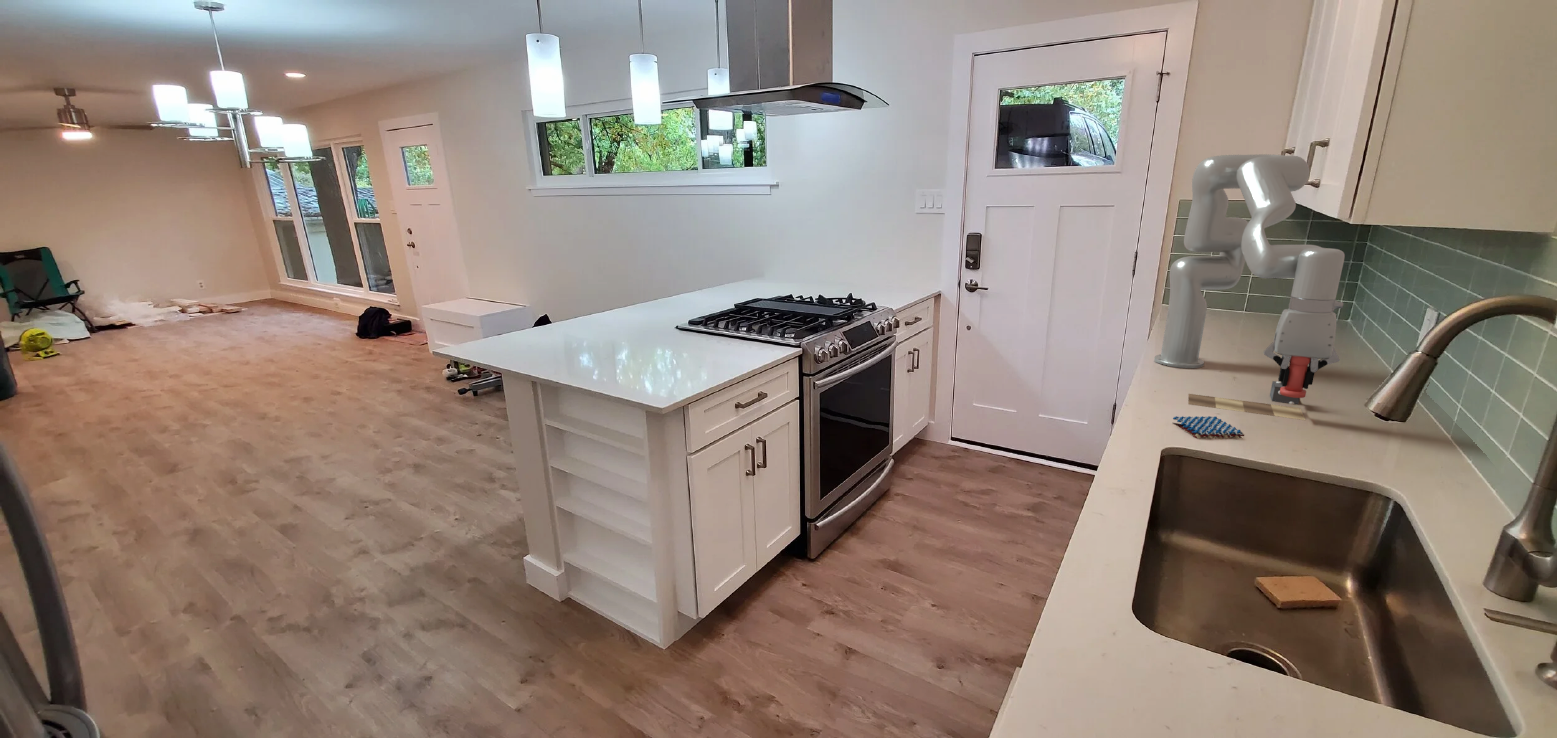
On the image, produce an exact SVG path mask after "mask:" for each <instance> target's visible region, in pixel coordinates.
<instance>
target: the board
mask: <svg viewBox="0 0 1557 738" xmlns="http://www.w3.org/2000/svg"><path fill="white" fill-rule="evenodd" d="M1187 396H1188V399H1187V400H1188V402H1187V403H1188V405H1189V406H1190V405H1191V406H1198V407H1205V408H1212V409H1213V408H1214V409H1221V410H1228V411H1235V412H1242V413H1248V414H1249V413H1250V414H1256V415H1257V414H1258V415H1265V416H1271V417H1277V418H1279V417H1280V418H1285V419H1286V418H1287V419H1293V420H1301V421H1306V418H1305V415H1304V414H1303V411H1302V409H1301V407H1294V406H1287V405H1280V404H1279V405H1278V404H1271V403H1265V402H1256V401H1249V400H1248V401H1247V400H1242V399H1241V400H1239V399H1232V398H1225V397H1217V396H1209V395H1202V394H1194V393H1188V395H1187Z"/></svg>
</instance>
